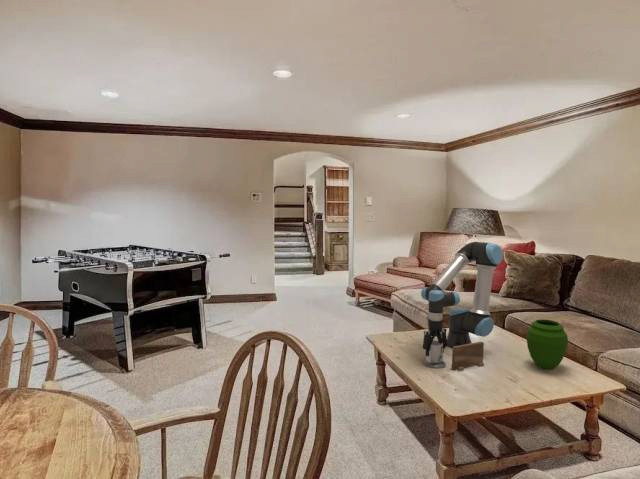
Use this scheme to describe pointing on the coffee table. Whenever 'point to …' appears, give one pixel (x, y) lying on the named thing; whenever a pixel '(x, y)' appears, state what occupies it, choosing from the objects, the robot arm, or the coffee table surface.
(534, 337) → the vase
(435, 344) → the cup
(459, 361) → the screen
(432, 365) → the coaster
